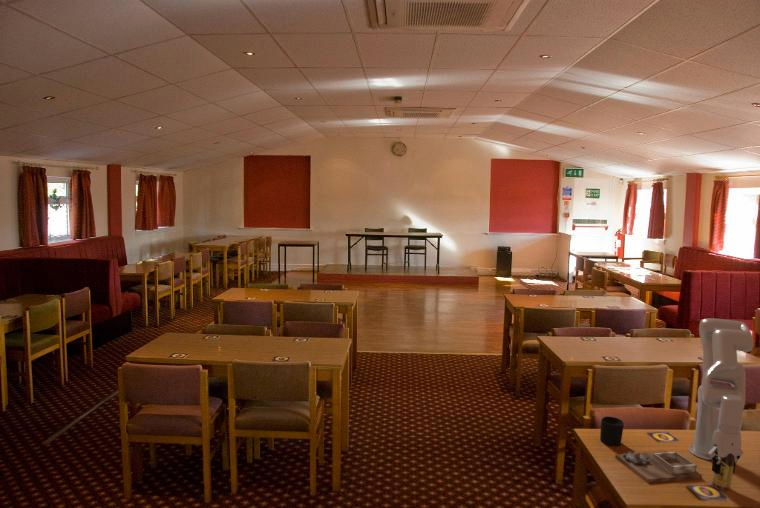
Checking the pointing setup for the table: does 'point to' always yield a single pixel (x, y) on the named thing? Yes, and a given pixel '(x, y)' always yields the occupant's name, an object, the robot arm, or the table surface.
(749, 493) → the table surface
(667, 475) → the gear board
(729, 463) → the sauce bottle
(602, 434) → the pen holder
